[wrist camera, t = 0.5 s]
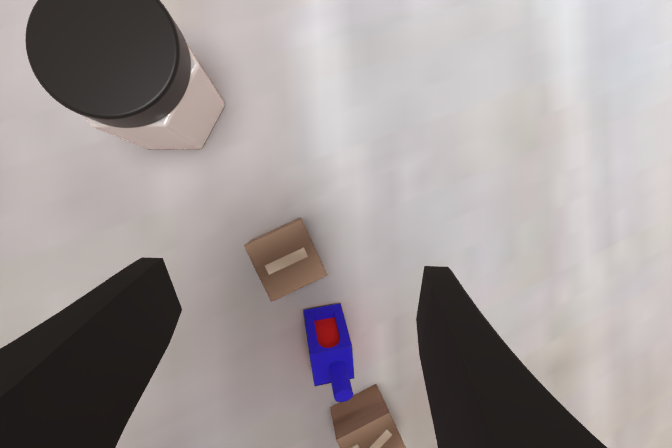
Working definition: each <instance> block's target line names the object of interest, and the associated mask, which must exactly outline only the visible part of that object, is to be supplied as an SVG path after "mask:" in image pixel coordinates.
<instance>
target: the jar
mask: <svg viewBox="0 0 672 448" xmlns="http://www.w3.org/2000/svg"><path fill="white" fill-rule="evenodd" d="M26 50H27V55H28V59H29V62H30V65H31V68H32V70H33V72H34V74H35V76H36V78H37V79H38V81H39V82H40V84H41V85H42V86H43V88H44V89H45V90H46V91H47V92H48V93H49V94H50V95H51V96H52V97H53V98H54V99H55V100H56V101H58V102H59V103H60V104H62V105H63V106H65V107H66V108H68V109H70V110H72V111H74V112H76V113H78V114H81V115H83V116H84V117H85V118H86V120H87V121H88V123H89V124H90V125H91V126H92V127H94V128H96V129H99V130H101V131H104V132H106V133H109V134H111V135H114V136H116V137H119V138H122V139H124V140H127V141H129V142H132V143H134V144H137V145H139V146H142V147H144V148H147V149H150V150H151V149H201V148H202V147H203V145H204V143H205V141H206V140H207V138H208V136H209V134H210V132H211V130H212V128H213V127H214V125H215V123H216V121H217V119H218V117H219V115H220V114H221V112H222V110H223V108H224V106H225V103H224V101H223V100H222V98H221V96H220V95H219V93H218V92H217V90H216V89H215V87H214V85H213V84H212V82H211V81H210V79H209V77H208V76H207V74H206V73H205V71H204V70H203V68H202V66H201V65H200V63H199V62H198V60H197V59H196V57H195V55H194V54H193V52H192V51H191V49H190V48H189V46H188V45H187V43H186V41H185V39H184V36H183V35H182V33H181V31H180V30H179V28H178V26H177V25H176V23H175V22H174V20H173V19H172V17H171V15H170V14H169V12H168V11H167V9H166V8H165V7H164V5H163V4H162V3H161V2H160V0H38V1H37V2H36V4H35V6H34V7H33V9H32V12H31V14H30V17H29V20H28V24H27V28H26Z"/></svg>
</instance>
